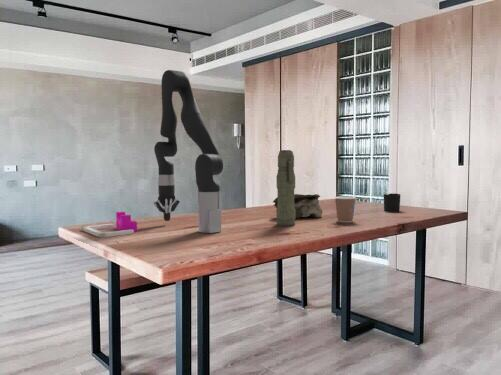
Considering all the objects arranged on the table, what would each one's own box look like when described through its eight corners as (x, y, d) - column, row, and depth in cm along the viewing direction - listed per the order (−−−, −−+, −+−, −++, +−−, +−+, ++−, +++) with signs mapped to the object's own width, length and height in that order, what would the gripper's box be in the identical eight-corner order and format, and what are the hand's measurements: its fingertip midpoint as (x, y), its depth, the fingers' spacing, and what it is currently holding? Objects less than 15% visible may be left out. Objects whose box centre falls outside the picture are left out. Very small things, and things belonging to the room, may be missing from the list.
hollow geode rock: (274, 227, 218) (280, 209, 207) (267, 209, 226) (273, 190, 215) (323, 223, 226) (331, 205, 215) (315, 205, 234) (323, 187, 223)
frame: (133, 233, 176) (133, 230, 176) (100, 237, 167) (100, 233, 167) (112, 226, 194) (112, 223, 194) (81, 230, 185) (81, 226, 185)
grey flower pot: (357, 222, 202) (358, 198, 201) (336, 222, 203) (336, 198, 202) (353, 219, 213) (353, 196, 212) (332, 219, 213) (333, 196, 212)
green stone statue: (284, 227, 191) (284, 149, 189) (271, 223, 202) (271, 150, 199) (300, 225, 195) (300, 150, 193) (287, 222, 206) (287, 150, 203)
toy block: (137, 232, 181) (136, 215, 180) (122, 233, 178) (121, 216, 177) (130, 227, 194) (130, 211, 193) (116, 228, 191) (116, 212, 191)
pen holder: (401, 212, 242) (401, 194, 242) (384, 211, 244) (384, 194, 243) (398, 210, 252) (398, 193, 251) (382, 209, 253) (382, 193, 253)
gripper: (157, 185, 191) (157, 223, 192) (182, 184, 199) (183, 220, 200) (149, 184, 196) (150, 221, 198) (175, 183, 205) (175, 218, 206)
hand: (167, 220), depth 199 cm, fingers closed
